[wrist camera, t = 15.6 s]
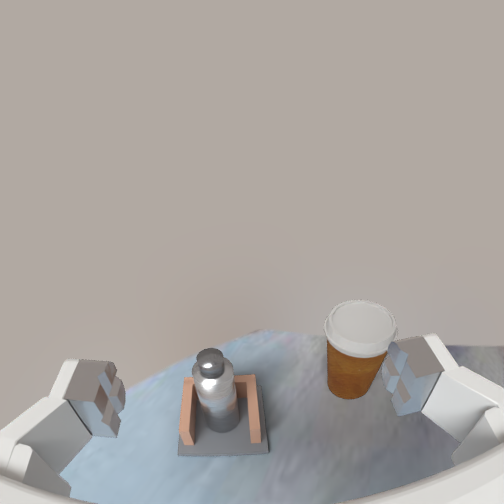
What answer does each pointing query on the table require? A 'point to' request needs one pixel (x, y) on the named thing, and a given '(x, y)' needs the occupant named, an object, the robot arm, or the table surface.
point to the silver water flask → (216, 390)
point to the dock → (230, 443)
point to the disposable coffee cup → (357, 345)
